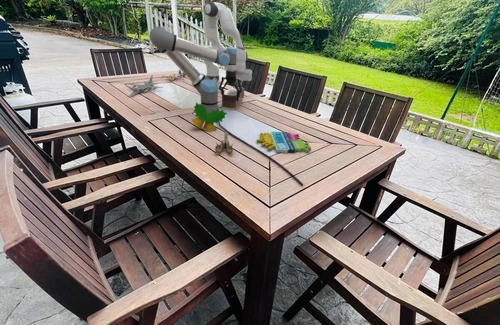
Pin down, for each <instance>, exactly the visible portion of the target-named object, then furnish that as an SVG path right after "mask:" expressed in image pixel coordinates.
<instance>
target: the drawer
mask: <svg viewBox="0 0 500 325" xmlns="http://www.w3.org/2000/svg"><path fill="white" fill-rule="evenodd" d="M232 88H233V89H236V88H235V86H233V87H232ZM238 88H239V86H238ZM242 90H243V91H242V99H245V87H242Z"/></svg>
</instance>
